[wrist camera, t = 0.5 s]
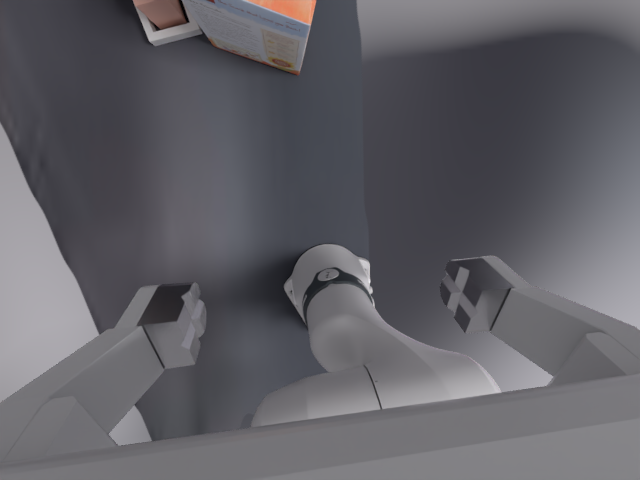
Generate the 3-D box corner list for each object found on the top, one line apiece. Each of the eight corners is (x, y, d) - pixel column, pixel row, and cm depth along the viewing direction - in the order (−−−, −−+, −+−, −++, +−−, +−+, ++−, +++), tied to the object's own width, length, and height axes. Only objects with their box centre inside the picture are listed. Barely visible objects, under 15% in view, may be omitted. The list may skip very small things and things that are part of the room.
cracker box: (308, 36, 45) (328, -45, 25) (298, 77, 47) (311, 30, 27) (218, 2, 42) (163, -120, 22) (212, 47, 44) (156, -30, 24)
